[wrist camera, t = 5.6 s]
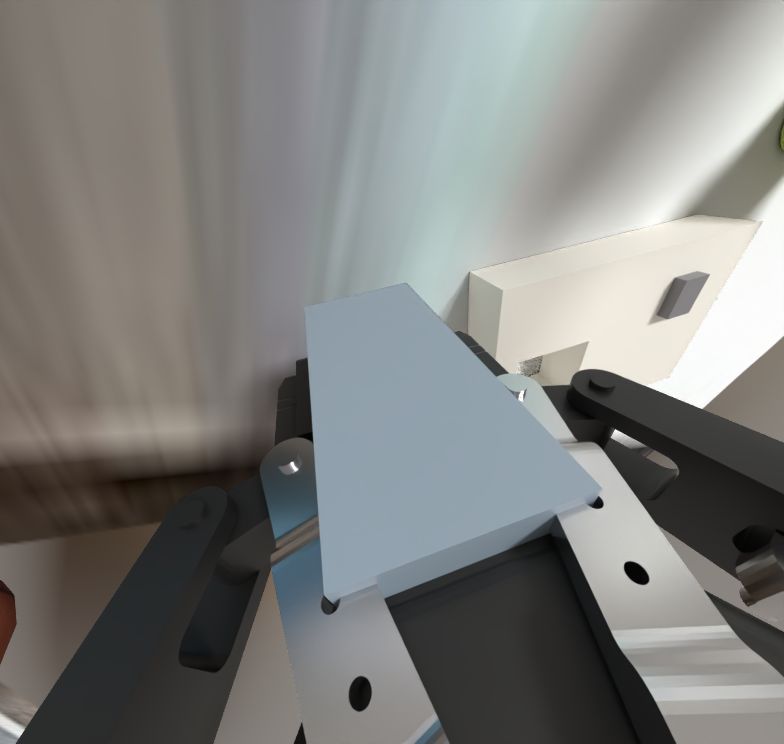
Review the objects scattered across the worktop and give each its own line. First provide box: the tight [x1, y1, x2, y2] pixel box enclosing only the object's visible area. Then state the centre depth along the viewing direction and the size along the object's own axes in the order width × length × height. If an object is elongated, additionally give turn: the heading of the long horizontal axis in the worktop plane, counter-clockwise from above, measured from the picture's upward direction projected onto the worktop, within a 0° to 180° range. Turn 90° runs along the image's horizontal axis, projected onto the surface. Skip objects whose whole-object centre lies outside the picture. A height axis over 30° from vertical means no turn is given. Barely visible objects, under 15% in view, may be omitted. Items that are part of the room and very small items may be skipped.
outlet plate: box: [468, 214, 763, 386], centre depth 23 cm, size 14×20×5 cm
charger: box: [304, 283, 603, 609], centre depth 8 cm, size 4×4×9 cm
